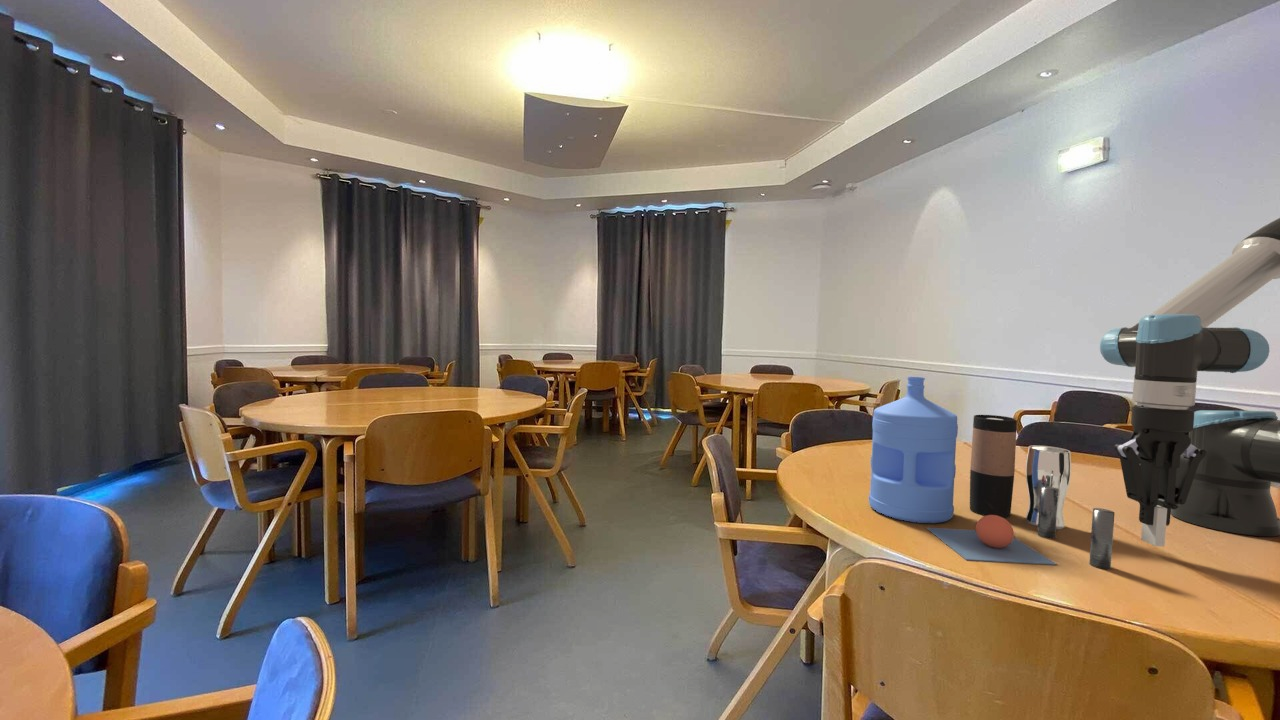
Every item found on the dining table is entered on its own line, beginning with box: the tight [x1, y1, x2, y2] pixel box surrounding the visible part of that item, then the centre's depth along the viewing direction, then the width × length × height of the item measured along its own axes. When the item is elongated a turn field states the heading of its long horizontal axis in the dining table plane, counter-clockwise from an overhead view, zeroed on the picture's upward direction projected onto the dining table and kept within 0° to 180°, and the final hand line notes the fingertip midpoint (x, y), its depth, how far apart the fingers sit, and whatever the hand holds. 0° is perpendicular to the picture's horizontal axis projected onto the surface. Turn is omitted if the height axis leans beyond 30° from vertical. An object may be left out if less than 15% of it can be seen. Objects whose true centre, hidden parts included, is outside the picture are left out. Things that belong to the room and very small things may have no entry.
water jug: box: [868, 376, 959, 524], centre depth 109 cm, size 16×16×28 cm
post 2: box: [1089, 507, 1115, 570], centre depth 85 cm, size 3×3×9 cm
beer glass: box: [1025, 444, 1072, 531], centre depth 104 cm, size 7×7×15 cm
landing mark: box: [926, 527, 1058, 566], centre depth 93 cm, size 14×14×1 cm
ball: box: [975, 515, 1015, 548], centre depth 92 cm, size 6×6×6 cm
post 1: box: [1037, 486, 1058, 540], centre depth 97 cm, size 3×3×9 cm
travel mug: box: [969, 414, 1018, 519], centre depth 110 cm, size 8×8×20 cm
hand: (1152, 543), depth 90 cm, fingers closed
